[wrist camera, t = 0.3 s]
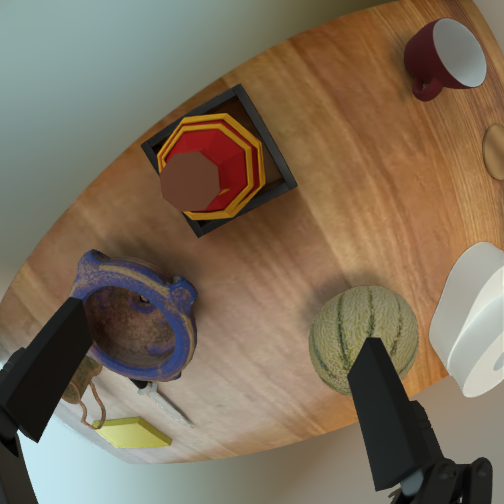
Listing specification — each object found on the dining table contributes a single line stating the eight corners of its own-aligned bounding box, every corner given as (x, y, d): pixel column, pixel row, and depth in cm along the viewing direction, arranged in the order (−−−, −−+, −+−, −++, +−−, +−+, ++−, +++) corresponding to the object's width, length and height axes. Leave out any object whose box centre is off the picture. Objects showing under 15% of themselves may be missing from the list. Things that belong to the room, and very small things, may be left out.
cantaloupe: (411, 286, 37) (459, 351, 24) (358, 353, 43) (382, 424, 29) (336, 248, 35) (378, 320, 21) (284, 329, 41) (292, 412, 27)
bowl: (223, 265, 36) (213, 311, 27) (188, 353, 43) (176, 400, 34) (102, 218, 34) (61, 248, 25) (92, 314, 41) (65, 352, 32)
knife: (104, 362, 42) (122, 357, 41) (109, 353, 45) (126, 348, 44) (182, 433, 52) (200, 432, 51) (184, 425, 54) (202, 423, 53)
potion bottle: (167, 188, 32) (108, 231, 19) (191, 106, 28) (139, 89, 14) (249, 214, 33) (243, 275, 20) (278, 132, 29) (297, 132, 16)
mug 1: (101, 394, 51) (84, 433, 40) (48, 341, 45) (22, 379, 34) (131, 387, 49) (114, 433, 38) (72, 327, 43) (42, 371, 32)
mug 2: (429, 119, 27) (478, 122, 18) (379, 90, 26) (422, 80, 17) (443, 56, 23) (489, 46, 14) (395, 26, 22) (435, 3, 13)
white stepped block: (509, 228, 33) (559, 261, 20) (492, 328, 42) (522, 367, 30) (432, 261, 36) (483, 313, 23) (424, 364, 45) (450, 413, 33)
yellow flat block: (139, 416, 54) (89, 421, 59) (137, 423, 52) (87, 427, 57) (172, 439, 58) (118, 442, 63) (170, 445, 56) (116, 447, 61)
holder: (241, 87, 27) (240, 83, 24) (294, 181, 32) (298, 186, 29) (149, 143, 30) (140, 145, 27) (202, 229, 34) (198, 238, 32)
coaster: (486, 115, 26) (488, 115, 25) (515, 136, 26) (517, 137, 25) (478, 169, 29) (480, 169, 29) (507, 185, 30) (509, 186, 29)
